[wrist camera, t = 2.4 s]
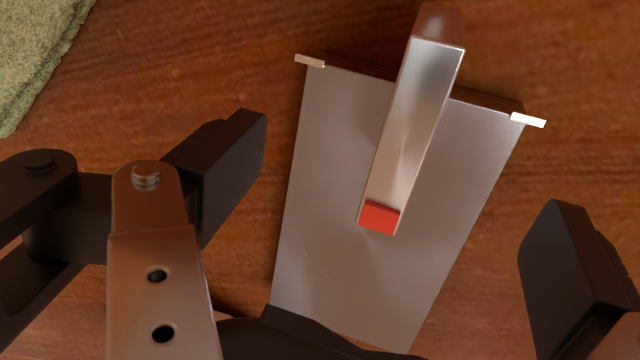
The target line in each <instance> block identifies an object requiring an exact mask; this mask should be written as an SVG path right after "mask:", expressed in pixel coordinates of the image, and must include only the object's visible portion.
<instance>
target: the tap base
mask: <svg viewBox="0 0 640 360" xmlns="http://www.w3.org/2000/svg"><path fill="white" fill-rule="evenodd" d="M294 61H296V62H300V63H304V64H308V66H307V72H306V79H305V85H304V91H303V97H302V103H301V109H300V115H299V121H298V127H297V133H296V140H295V146H294V152H293V158H292V164H291V170H290V176H289V182H288V188H287V194H286V201H285V207H284V213H283V219H282V225H281V231H280V237H279V243H278V249H277V256H276V262H275V268H274V274H273V280H272V286H271V292H270V298H269V304H270V305H273V306H276V307H279V308H282V309H285V310H288V311H290V312H293V313H296V314H299V315H302V316H305V317H308V318H310V319H313V320H315V321H317V322H319V323H320V324H322V325H323V326H325V327H327V328H328V329H330V330H331V331H334V332H337V333H340V334H343V335H345V336H348V337H351V338H354V339H357V340H360V341H363V342H365V343H368V344H371V345H374V346H377V347H380V348H382V349H385V350H388V351H391V352H394V353H397V354H406V355H407V353H408V351H409V350H410V348H411V346H412V344H413V342H414V340H415V338H416V336H417V334H418V332H419V330H420V328H421V326H422V324H423V323H424V321H425V319H426V317H427V315H428V313H429V311H430V309H431V307H432V305H433V303H434V301H435V299H436V297H437V296H438V294H439V292H440V290H441V288H442V286H443V284H444V282H445V280H446V278H447V276H448V274H449V272H450V271H451V269H452V267H453V265H454V263H455V261H456V259H457V257H458V255H459V253H460V251H461V249H462V247H463V245H464V244H465V242H466V240H467V238H468V236H469V234H470V232H471V230H472V228H473V226H474V224H475V222H476V220H477V218H478V217H479V215H480V213H481V211H482V209H483V207H484V205H485V203H486V201H487V199H488V197H489V195H490V193H491V191H492V190H493V188H494V186H495V184H496V182H497V180H498V178H499V176H500V174H501V172H502V170H503V168H504V166H505V164H506V163H507V161H508V159H509V157H510V155H511V153H512V151H513V149H514V147H515V145H516V143H517V141H518V139H519V137H520V136H521V134H522V132H523V130H524V128H525V126H526V124H529V125H533V126H537V127H540V128H543V126H544V124H545V123H546V119H543V118H539V117H535V116H531V115H528V114H526V111H525V109H524V106H523V104H522V103H521V102H517V101H513V100H509V99H506V98H502V97H498V96H494V95H491V94H487V93H483V92H479V91H475V90H472V89H468V88H464V87H460V86H457V85H453V88H452V90H451V93H450V96H449V98H448V101H447V103H446V106H445V109H444V111H443V114H442V117H441V119H440V122H439V124H438V127H437V130H436V132H435V135H434V137H433V140H432V143H431V145H430V148H429V151H428V153H427V156H426V158H425V161H424V164H423V166H422V169H421V171H420V174H419V177H418V179H417V182H416V185H415V187H414V190H413V192H412V195H411V198H410V200H409V203H408V205H407V208H406V211H405V213H404V216H403V219H402V221H401V224H400V226H399V229H398V232H397V234H396V235H395V236H393V235H392V236H391V235H388V234H384V233H381V232H378V231H375V230H372V229H369V228H365V227H362V226H359V225H358V224H356V223H355V218H356V215H357V212H358V208H359V205H360V201H361V198H362V195H363V191H364V188H365V185H366V181H367V178H368V175H369V171H370V168H371V164H372V161H373V158H374V154H375V151H376V148H377V144H378V141H379V137H380V134H381V131H382V127H383V124H384V121H385V117H386V114H387V110H388V107H389V104H390V100H391V97H392V94H393V90H394V87H395V83H396V80H397V77H398V73H399V70H396V69H392V68H389V67H385V66H381V65H377V64H374V63H370V62H366V61H362V60H358V59H355V58H351V57H347V56H343V55H340V54H336V53H332V52H328V51H324V50H319V51H318V52H317V53H316V54H315V55H314V56H312V57H311V56H307V55H304V54H300V53H295V60H294Z"/></svg>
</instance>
